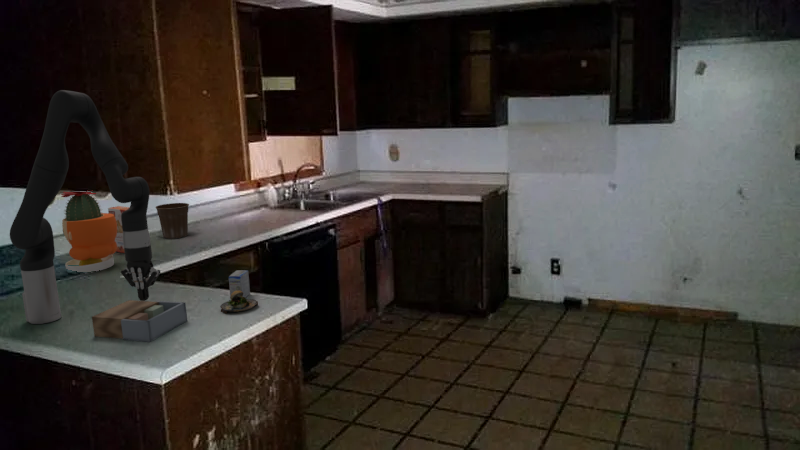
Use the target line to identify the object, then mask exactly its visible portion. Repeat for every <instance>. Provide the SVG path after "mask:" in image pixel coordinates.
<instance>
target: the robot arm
mask: <svg viewBox="0 0 800 450" xmlns="http://www.w3.org/2000/svg"><path fill="white" fill-rule="evenodd" d="M70 123H75V124H79V125H80V126H81V127H82V128H83V129H84V130H85V132H86V133H87V135H88V137H89V139H90V140H89V141H90V150H91V153H92V158H93V159H94V161H95V162H96V164H97V165H98V167H99V168H100V170H101V171H102V173H103V174H104V176H105V180H106V183H107V185H108V190H109V191H110V194H111V197H112V198H113V199H114V200H115V201H116V202H118V203H120V204H128V203H130V206H129V207H130V208H129V209H127V210H126V211H124V212H123V213H122V214H121V221H122V229H123V244H124V252H125V253H124V257H125V258H124V259H125V261H126V267H125V269H122V270H121V271H120V273H121V275H122V276H123V278H124V280H126V281H127V283H128V284H129V286H130V287H132V288H133V287H134V288H135V289H136V290H137V291H136V292H137V297H138V300H139V301H147V300H148V299H149V297H150V294H149V287H152V286H154V284H155V283H156V281H157V279H158V278H159V276H160V274H161V270H160V269H156V268H155V267H154V263H153V262H152V258H153V251H152V245H151V244H152V243H151V236H150V231H149V225H148V217H147V213H148V208H149V200H150V195H151V194H150V193H151V192H150V187H149V183H148V182H147V180H145V178H143V177H142V176H133V177H126V178H124V175H125V174H126V173H127V172H128V170H129V165H128V163H127V161H126V159H125V158H124V156H123V155H122V154H121V151H119V149H118V148H117V146H116V145H115V143H114V142H113V140H112V138H111V137H110V135H109V132H108V130H107V128H106V126H105V124H104V122H103V120H102V118H101V115H100V113H99V111H98V109H97V107H96V105H95V102H94V101H93V99H92V98H91V97H90V96H89V95H88V94H86V93H84V92H78V91H73V90H65V89H60V90H58V91H56V92H55V93H54V94H53V95H52V96H51V99H50V101H49V104H48V109H47V114H46V119H45V125H44V130H43V134H42V137H41V141H40V144H39V148H38V151H37V154H36V156H35V160H34V163H33V166H32V169H31V171H30V172H31V173H30V176H29V179H28V183H27V185H26V188H25V191H24V195H23V198H22V201H21V204H20V206H19V209H18V210H17V212H16V215H15V218H14V219H13V221H12V224H11V226H10V230H9V239H10V241H11V244H12V245H13V246H14V247H15V248H17V249H19V250H24V251H25V252H24V255H23V257H22V258H21V259H20V261H19V266H20V267H19V268H20V273H21V279H22V287H23V292H22V294H21V295H22V302H23V307H24V313H25V320H26V322H28V323H29V324H32V325H42V324H47V323H52V322H55V321H57V320H59V319H61V318H62V311H61V306H60V305H61V303H60V296H59V292H58V285H57V278H56V272H55V263H54V259H55V256H56V255H55V254H56V251H55V249H56V248H55V241H54V233H53V228H52V225H51V223H50V222H49V221H48V219H46V218H45V213H46V211H47V210H48V209H49V208H48V207H49V206H50V205H51V204H52V202H53V201H54V199H55V198H56V197H57V195H58V194H59V193H60V190H61V189H62V187H63V186H64V183H65V181H66V178H67V174H68V171H69V168H70V161H69V155H68V151H67V148H66V146H67V145H66V136H67V132H68V128H69V126H70V125H71V124H70Z"/></svg>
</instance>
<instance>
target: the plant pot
mask: <svg viewBox="0 0 800 450" xmlns="http://www.w3.org/2000/svg"><path fill="white" fill-rule="evenodd" d="M189 206H190V204H189V203H186V202H174V203H173V202H171V203H164V204H159V205H157V206H155V209H156V212H157V216H158V218H159V222H160V227H161V232H162V237H163V239H168V240H170V239H171V240H172V239H174V240H176V239H180V238H185V237H187V236H189V229H188V227H189V226H188V225H189V221H188V220H189V219H188V218H189V217H188V213H189Z"/></svg>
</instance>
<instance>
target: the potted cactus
mask: <svg viewBox="0 0 800 450" xmlns="http://www.w3.org/2000/svg"><path fill="white" fill-rule="evenodd" d="M96 194H97V193H91V192H87V191H86V192H65V191H62V193H61V194H60V196H61V197H60V198H69V199H66V200H67V202H65V205H66V206H65V209H64V210H63V214H64V215H65V216H64V218H63V219H62V222H61V223H62V226H61V227H62V234H63V235H64V237H65V239H66V240H67V242H68V243H69V244H70V245H71V248H70V249H69V251H68V254H69V256H70V257H71V258H72V259H71V260H68V261H67V262H65V264H64V265H65V270H66V269H68V270H72V271H77V272H91V271H96V272H99V270H100V271H103V270H106V269H108V268H111V267H112V266H114V265H115V261H114V260H115V259H114V254H115V253H116V250H117V244H116V242H115V238H116V235H117V222H116V218H115V216H114V214H110V213H109V212H108V213H107V212H102V211H103V209H102V206H101V204H100V202H99V201H98V199H96V196H93V195H96ZM95 199H96V200H95ZM68 265H79V266H68ZM91 273H92V272H91Z"/></svg>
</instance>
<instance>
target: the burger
mask: <svg viewBox="0 0 800 450" xmlns="http://www.w3.org/2000/svg"><path fill="white" fill-rule="evenodd" d="M234 290H235V289H234ZM242 296H243V292H242V291H234V292H233V293H232V294H231V296H230V295H229V300H228V301H225V302H223V303H221V305H220V313H223V314H225V315H227V314H228V312H237V313H238V312H242V311H246V310H250V309H252V308H254V307H255V306H258V305H259V302H258V300H255V299H251V298H247V297H246V298H245V297H242Z"/></svg>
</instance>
